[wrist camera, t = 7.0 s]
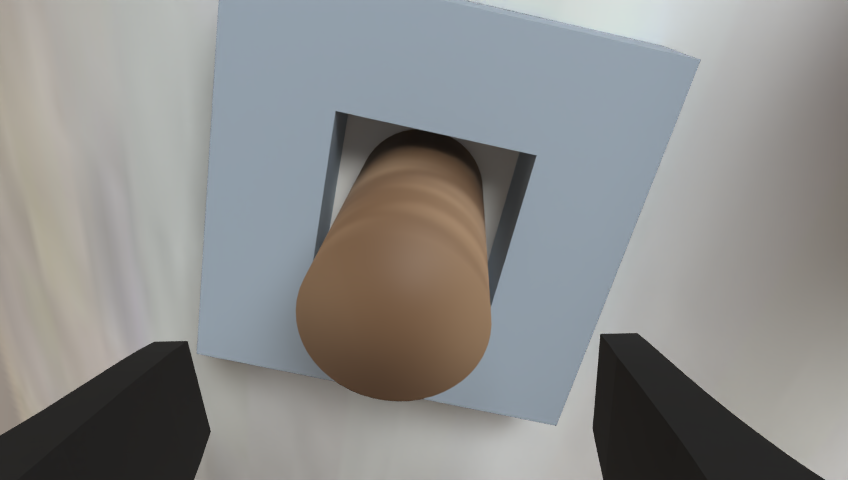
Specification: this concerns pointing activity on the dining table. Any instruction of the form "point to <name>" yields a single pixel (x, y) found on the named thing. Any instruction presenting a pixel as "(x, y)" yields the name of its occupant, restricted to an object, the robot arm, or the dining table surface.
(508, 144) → the socket block
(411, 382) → the peg
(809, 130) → the dining table surface
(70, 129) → the dining table surface
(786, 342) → the dining table surface
